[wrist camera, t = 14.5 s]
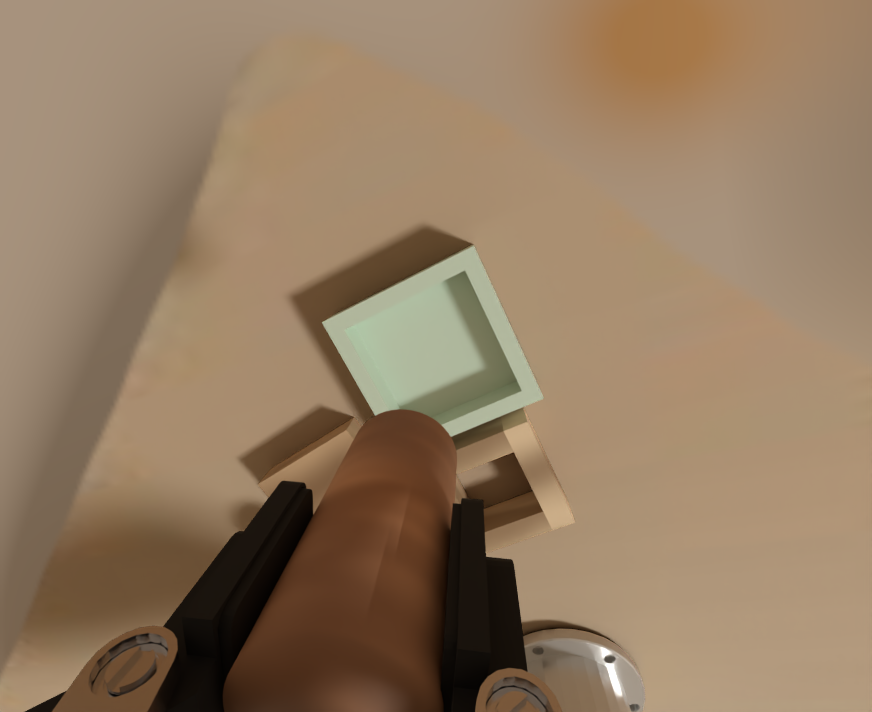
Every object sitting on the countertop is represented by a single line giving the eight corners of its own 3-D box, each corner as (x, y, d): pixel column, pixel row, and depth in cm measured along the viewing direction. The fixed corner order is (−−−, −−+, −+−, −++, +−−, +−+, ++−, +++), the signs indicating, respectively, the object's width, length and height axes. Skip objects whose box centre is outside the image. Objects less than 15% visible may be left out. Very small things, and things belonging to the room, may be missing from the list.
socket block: (567, 499, 30) (575, 522, 28) (466, 535, 32) (465, 560, 30) (522, 405, 29) (527, 421, 26) (417, 448, 30) (413, 467, 28)
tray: (537, 384, 28) (543, 398, 26) (405, 439, 30) (399, 458, 28) (473, 243, 26) (473, 245, 23) (334, 314, 28) (321, 322, 25)
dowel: (460, 414, 14) (450, 648, 6) (453, 507, 15) (436, 804, 7) (352, 404, 14) (212, 621, 6) (352, 497, 15) (232, 776, 7)
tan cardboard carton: (404, 477, 31) (398, 497, 29) (321, 524, 33) (310, 545, 31) (355, 414, 30) (346, 430, 28) (272, 466, 32) (257, 484, 30)
